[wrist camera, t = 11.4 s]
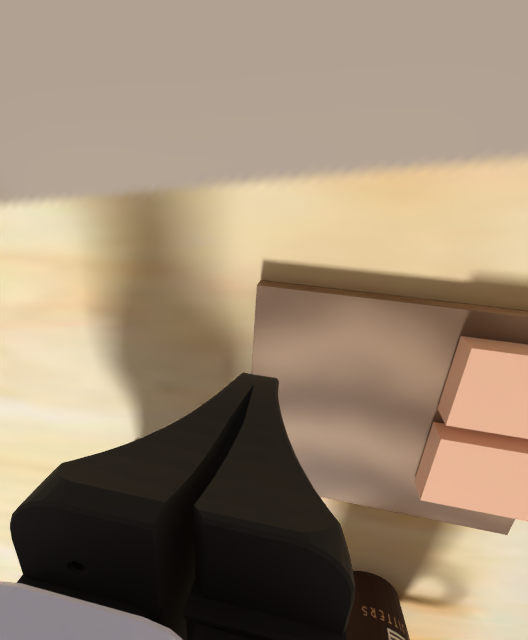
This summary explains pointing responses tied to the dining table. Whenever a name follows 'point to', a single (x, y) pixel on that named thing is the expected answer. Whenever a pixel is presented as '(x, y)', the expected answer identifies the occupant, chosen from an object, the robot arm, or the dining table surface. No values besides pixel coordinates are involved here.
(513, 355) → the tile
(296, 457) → the robot arm
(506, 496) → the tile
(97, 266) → the dining table surface
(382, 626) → the coffee mug
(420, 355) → the board
